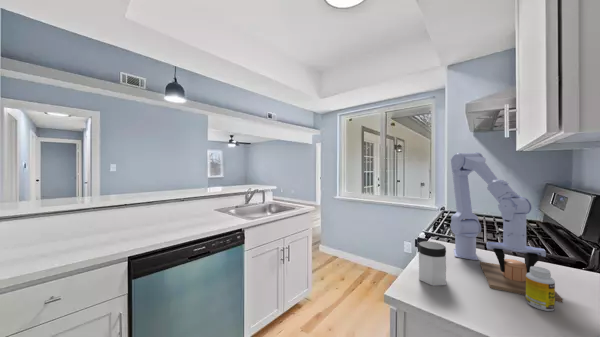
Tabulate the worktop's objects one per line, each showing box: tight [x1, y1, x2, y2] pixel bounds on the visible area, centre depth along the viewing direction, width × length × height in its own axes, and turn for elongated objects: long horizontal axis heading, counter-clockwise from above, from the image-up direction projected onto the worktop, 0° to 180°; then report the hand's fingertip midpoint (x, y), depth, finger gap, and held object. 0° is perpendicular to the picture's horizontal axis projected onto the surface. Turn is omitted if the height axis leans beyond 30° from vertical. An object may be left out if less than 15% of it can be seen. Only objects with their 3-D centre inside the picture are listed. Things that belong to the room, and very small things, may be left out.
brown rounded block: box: [503, 258, 527, 282], centre depth 78 cm, size 6×6×5 cm
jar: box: [418, 240, 447, 287], centre depth 79 cm, size 9×8×12 cm
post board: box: [479, 261, 564, 303], centre depth 78 cm, size 20×16×4 cm
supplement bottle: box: [525, 265, 556, 312], centre depth 64 cm, size 6×6×10 cm
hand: (514, 273), depth 78 cm, fingers closed on brown rounded block, 6 cm apart
